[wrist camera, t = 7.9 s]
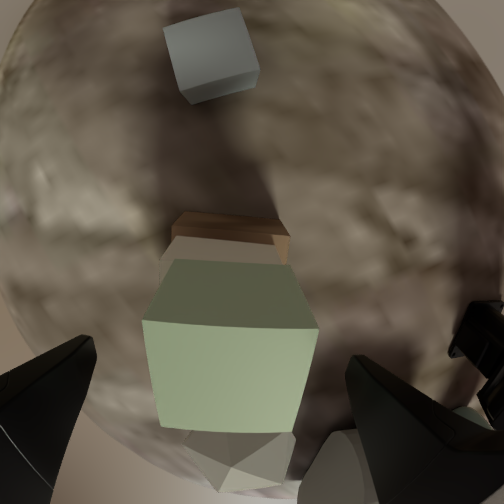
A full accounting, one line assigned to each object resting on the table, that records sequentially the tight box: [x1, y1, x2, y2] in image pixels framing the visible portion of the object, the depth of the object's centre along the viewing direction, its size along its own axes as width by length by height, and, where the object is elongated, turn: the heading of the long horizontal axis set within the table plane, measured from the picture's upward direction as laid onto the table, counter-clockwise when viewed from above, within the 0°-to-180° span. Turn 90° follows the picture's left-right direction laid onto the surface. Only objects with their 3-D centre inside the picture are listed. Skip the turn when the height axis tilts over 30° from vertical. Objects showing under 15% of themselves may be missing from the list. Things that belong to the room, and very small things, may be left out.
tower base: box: [171, 211, 290, 265], centre depth 17 cm, size 6×6×4 cm
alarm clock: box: [297, 429, 379, 504], centre depth 22 cm, size 21×10×13 cm, turn 173°
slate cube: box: [163, 7, 260, 105], centre depth 13 cm, size 4×4×4 cm
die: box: [182, 430, 296, 493], centre depth 20 cm, size 8×9×10 cm
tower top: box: [159, 236, 283, 285], centre depth 14 cm, size 5×5×4 cm
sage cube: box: [142, 259, 319, 433], centre depth 10 cm, size 4×4×4 cm
